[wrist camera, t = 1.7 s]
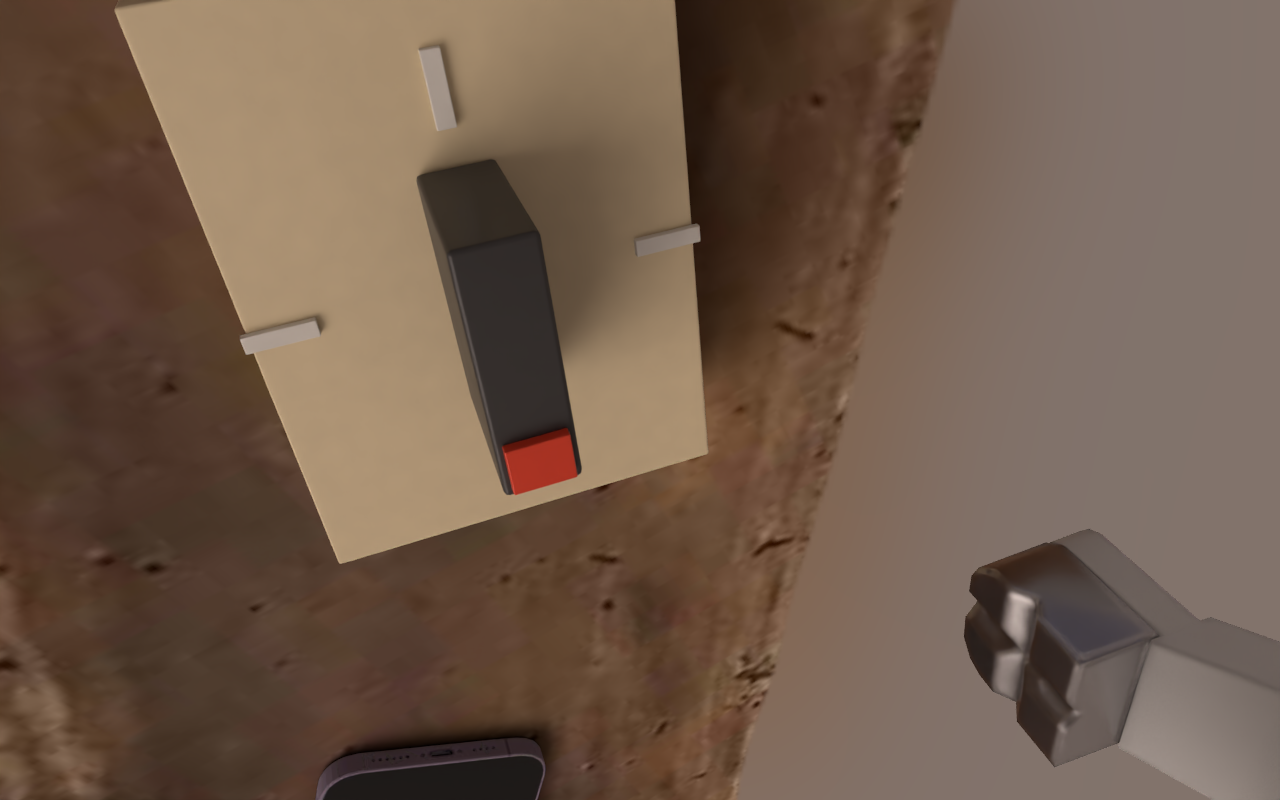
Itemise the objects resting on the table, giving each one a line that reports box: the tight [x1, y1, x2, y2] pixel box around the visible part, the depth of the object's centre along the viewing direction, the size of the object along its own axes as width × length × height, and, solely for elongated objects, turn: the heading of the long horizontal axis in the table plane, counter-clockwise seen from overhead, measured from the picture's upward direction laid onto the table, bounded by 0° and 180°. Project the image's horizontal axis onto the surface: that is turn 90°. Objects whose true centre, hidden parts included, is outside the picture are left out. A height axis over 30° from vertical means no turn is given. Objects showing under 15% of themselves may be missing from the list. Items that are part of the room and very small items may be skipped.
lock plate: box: [115, 0, 708, 564], centre depth 20 cm, size 12×9×3 cm
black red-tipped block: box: [416, 159, 582, 495], centre depth 17 cm, size 5×2×4 cm, turn 6°
